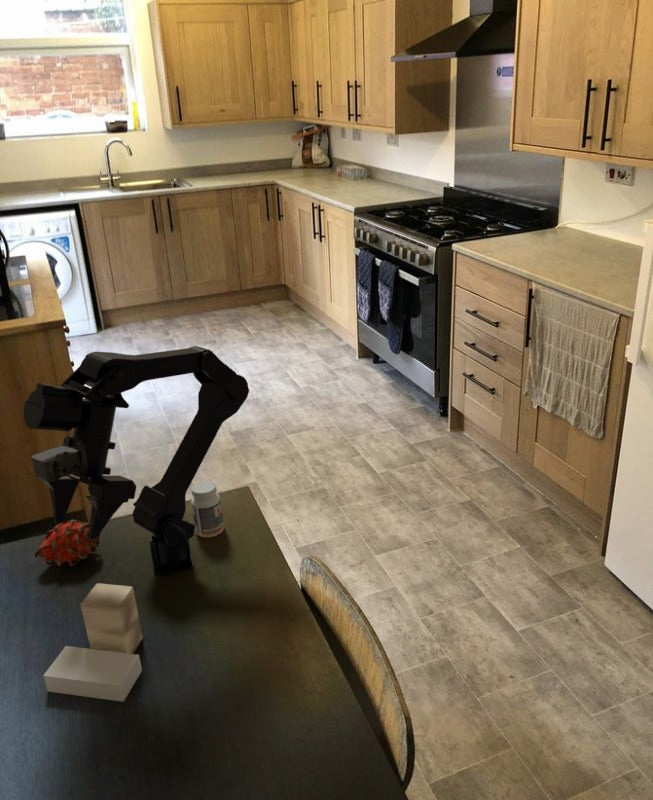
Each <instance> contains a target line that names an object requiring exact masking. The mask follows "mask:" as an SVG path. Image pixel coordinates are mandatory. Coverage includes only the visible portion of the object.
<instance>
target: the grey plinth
mask: <svg viewBox="0 0 653 800" xmlns="http://www.w3.org/2000/svg"><path fill="white" fill-rule="evenodd" d="M142 671H143V668H142V663H141V658H140V654H138V653H137V654H135V653H133V654H128V653H120V652H112V651H103V650H95V649H91V648H85V647H78V646H76V647H75V646H69V645H65V646H64V648H63V649H62V650H61V651H60V653H59V654H58V655H57V657H56V658H55V660H54V661H53V662H52V664H50V666H49V667H48V669H47V670H46V671H45V673H44V674H43V676H42V677H43V681H44V682H45V687H46V691H47V692H49V693H55V694H61V695H62V694H64V695H73V696H77V697H78V696H79V697H86V698H93V699H101V700H107V701H108V700H109V701H113V702H114V701H115V702H122V703H123V702H125V701H126V699H127V697H128V695H129V694H130V692H131V689H132V688H133V687H134V685H135V683H136V681H137V680H138V678H139V677H140V676H141V673H142Z"/></svg>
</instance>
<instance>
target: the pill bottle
mask: <svg viewBox="0 0 653 800" xmlns="http://www.w3.org/2000/svg"><path fill="white" fill-rule="evenodd" d="M191 495H192V498H191V500H190V501H191V502H190V503H191V504H190V505H191V511H192V516H193V517H192V518H193V523H194V524H193V525H195V531H194V532H195V533H196V534H197V535H198V536H199V537H201V538H213V537H216V536H218V535H220V534H222V532H223V531H224V529H225V523H224V522H225V521H224V517H223V516H224V515H223V508H222V502H221V497H220V495H219V493H217V485H216V483H215V482H213V481H210V480H209V481H208V480H204V481H199V482H197V483H195V484H193V485H192V487H191Z"/></svg>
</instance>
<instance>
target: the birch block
mask: <svg viewBox="0 0 653 800" xmlns="http://www.w3.org/2000/svg"><path fill="white" fill-rule="evenodd" d="M80 610H81V614H82V618H83V623H84V626H85V629H86V634H87V639H88V643H89V649H95V650H103V651H112V652H120V653H128V654H135V651H136V650H137V648H138V647H139V645H140V643H141V641H142V640H143V637H144V636H143V632H142V627H141V622H140V617H139V611H138V607H137V601H136V597H135V591H134V586H130V585H129V586H128V585H119V584H118V585H117V584H109V583H108V584H107V583H99V582H97V583H96V584H95V585H94V586H93V587H92V589H91V590H90V591H89V593H88V594H87V595H86V597H85V598H84V599H83V601H82V602H80Z"/></svg>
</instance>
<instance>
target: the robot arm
mask: <svg viewBox="0 0 653 800" xmlns="http://www.w3.org/2000/svg"><path fill="white" fill-rule="evenodd" d="M187 374H192V375H193V377H194V379H195V380H196V381H197V382H198V383H200V387H199V391H198V395H197V397H198V400H197V401H198V402H197V403H198V405H197V406H198V407H197V412H196V414H195V416H194V418H193V420H192V421H191V423H190V425H189V427H188V429H187V431H186V433H185V434H184V436H183V438H182V440H181V442H180V443H179V446H178V448H177V450H176V451H175V453H174V455H173V456H172V459H171V460H170V462H169V464H168V467H167V468H166V470H165V471H164V473H163V476H162V478H161V479H160V481H158V482H157V483H156V484H155V485H153V486H151V487H150V486H148V485H144V486H143V487H142V488H141V491H140V494H139V496H138V498H137V499H136V501H134V503H133V504H132V505H133V506H134V509H133V511H132V517H133V522H134V524H135V525H136V527H138V528H140V529H142V530H143V531H145V532H147V533H148V534H149V535H150V536H151V539H152V540H150V541H148V542H149V549H150V554H151V561H152V567H153V568H154V569H155V568H156V574H157V576H163V575H167V574H172V573H176V572H181V571H185V570H190V569H192V568H194V567H195V566H194V565H195V564H194V562H193V557H192V553H191V547H190V541H189V540H190V539H192V538H193V537H194V534H195V532H196V531H195V525H194V524H193V523H191V522H190V521H188V520H186V519H184V516H185V513H186V501H187V500H186V495H187V491H188V489H190V488H189V487H190V486H191V484H192V482H193V480H194V478H195V476H196V475H197V473H198V471H199V468H200V467H201V465H202V462H203V461H204V459H205V457H206V455H207V453H208V451H209V450H210V447H211V445H212V443H213V442H214V440H215V438H216V436H217V435H218V433H219V430H220V428H221V427H222V425H223V423H224V422H225V421H227V420H229V418H231V417H232V416H233V415H235V414H237V413H238V412H239V410H240V409H241V408H242V406H243V404H244V403H245V402H246V400H247V398H248V396H249V394H250V388H249V384H248V381H247V379H246V378H245V376H243V375H240V374H238V373H237V372H235V370H233V369H232V368H231V367H230V366H229V365H227V364H225V363H224V362H223V360H221V359H220V358H219V356H217V355H216V353H214V352H213V351H212V350H211V349H207V348H204V347H201V346H198V345H194V346H190V347H187V348H178V349H172V350H165V351H164V350H163V351H156V352H149V353H141V354H127V353H126V354H125V353H118V352H112V351H111V352H106V351H92V352H89V353H88V354H86V355H85V357H84V358H83V359H82V361H81V363H80V364H79V366H78V367H77V368H76V369H75V370H74V371H73V372H72V373H71V374H70V375H68V377H67V378H66V379H65V380H64V381H63V382H62V383H61V384H60V386H58V385H51V384H48V383H44V382H37V384H36V387H35V390H33V391H32V392H31V393H30V394H29V396H28V397H27V399H26V400H25V401H24V406H23V420H24V423H25V425H26V426H27V428H28V429H30V430H40V431H41V430H44V431H58V432H70V431H71V430H72V429H73V431H72V435H66V436H65V437H64V439H63V443H62V446H59V447H53V448H50V449H47V450H44V451H42V452H41V451H40V452H37V453H35V454H33V455H31V462H32V468H33V474H34V477H35V478H37V479H38V478H39V480H41V481H42V482H43V483H44V484H45V485H46V486H47V487H48V489H49V495H50V498H51V505H52V513H53V518H54V523H56V524H60V523H63V521H64V519H65V517H66V515H67V513H68V511H69V508H70V506H71V503H72V500H73V498H74V496H75V493H76V490H77V487H78V486H79V482H81V483H82V484H85V485H87V486H88V488H87V489H88V493H89V495H85V497H86V499H87V501H88V502H89V504H90V506H91V510H90V517H89V518H90V520H89V524H90V528H89V538H90V539H96V538H97V537H98V535H99V534H100V535H101V532H102V531H103V530H104V528H105V527H106V525H107V524H108V523H109V521H110V520H111V519H112V518H113V516H114V514H116V512H117V511H118V509H120V508H121V507H122V505H124V504H125V503H128V502H129V500H135V497H136V490H137V485H136V483H135V482H134V480H132V479H130V478H127V477H124V476H122V475H111V471H112V468H111V467H108V466H107V459H108V455H109V450H115V449H116V442H113V441H111V437H112V433H113V428H114V421H115V415H116V411H117V408H118V409H120V408H121V409H128V408H129V407H130V404H129V403H128V402H127V401H126V400H125V398H124V397H123V396H122V393H124V392H128V391H130V390H133V389H135V388H136V387H137V386H138V385H140V384H141V383H144V382H146V381H152V380H157V379H163V378H164V379H165V378H169V377H170V378H171V377H176V376H183V375H187Z"/></svg>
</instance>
